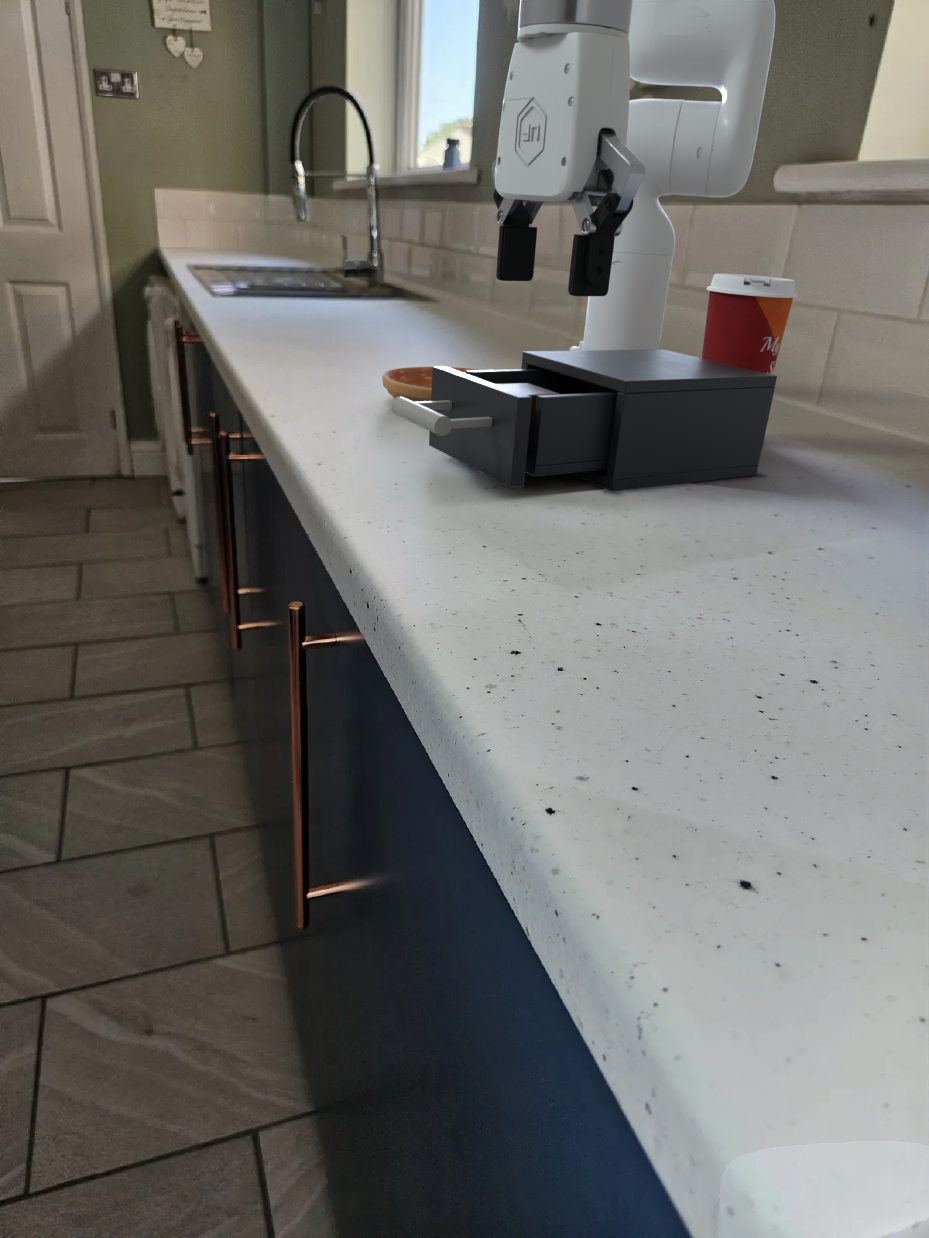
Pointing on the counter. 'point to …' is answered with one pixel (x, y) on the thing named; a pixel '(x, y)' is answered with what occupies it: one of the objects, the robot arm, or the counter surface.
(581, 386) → the drawer
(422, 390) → the saucer
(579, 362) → the dark grey drawer cabinet
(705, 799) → the counter surface
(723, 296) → the coffee cup
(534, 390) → the block
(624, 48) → the robot arm
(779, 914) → the counter surface
